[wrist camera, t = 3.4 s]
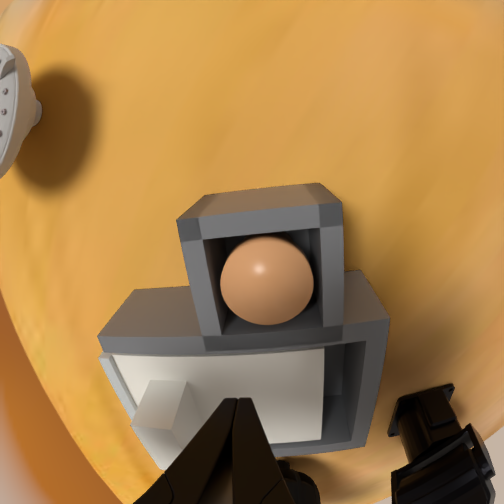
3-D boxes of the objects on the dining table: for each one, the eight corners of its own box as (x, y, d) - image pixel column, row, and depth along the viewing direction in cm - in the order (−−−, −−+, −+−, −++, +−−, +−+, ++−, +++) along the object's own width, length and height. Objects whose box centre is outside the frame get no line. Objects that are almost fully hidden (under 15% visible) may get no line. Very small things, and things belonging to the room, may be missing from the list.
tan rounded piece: (306, 282, 18) (314, 320, 14) (237, 288, 19) (228, 327, 15) (301, 214, 17) (310, 237, 13) (226, 221, 17) (213, 247, 13)
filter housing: (351, 393, 24) (364, 446, 18) (175, 402, 25) (159, 452, 20) (358, 179, 17) (396, 198, 12) (113, 209, 19) (63, 237, 13)
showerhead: (29, 123, 10) (-45, 218, 12) (101, 123, 17) (19, 193, 19) (1, 5, 7) (-71, 110, 9) (64, 27, 14) (-10, 105, 16)
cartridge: (315, 397, 22) (325, 482, 14) (160, 400, 23) (133, 475, 16) (314, 306, 19) (335, 401, 12) (126, 317, 20) (73, 394, 13)
